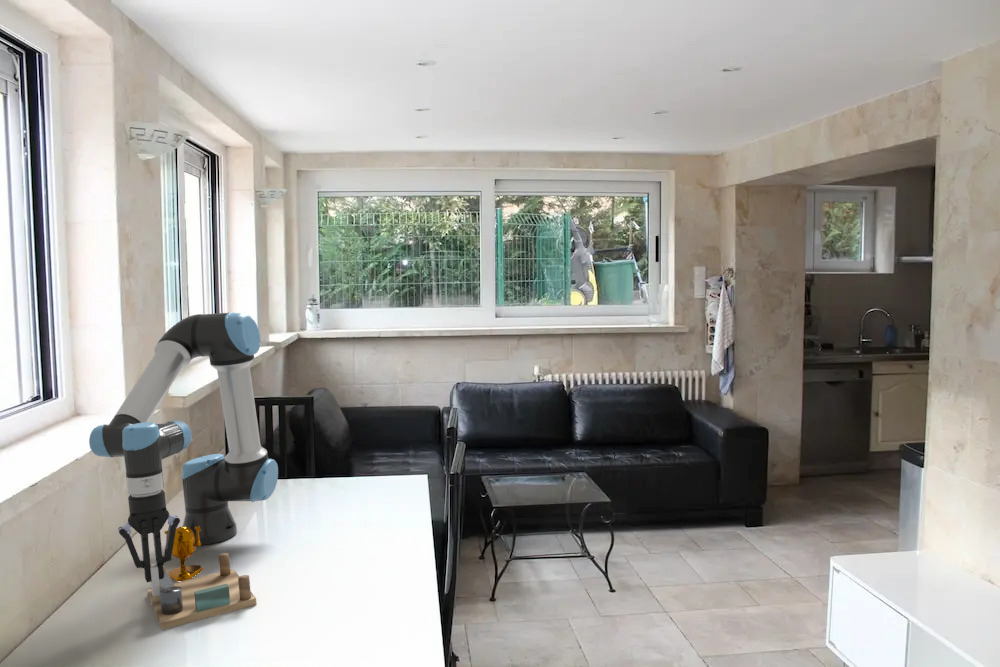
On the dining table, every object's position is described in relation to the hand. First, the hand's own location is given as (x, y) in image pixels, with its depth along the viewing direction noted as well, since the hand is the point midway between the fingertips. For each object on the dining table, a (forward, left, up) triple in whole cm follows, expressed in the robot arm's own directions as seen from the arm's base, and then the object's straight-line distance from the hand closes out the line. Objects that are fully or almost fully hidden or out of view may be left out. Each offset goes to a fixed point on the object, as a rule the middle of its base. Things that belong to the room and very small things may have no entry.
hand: (156, 593), depth 179 cm
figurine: (-19, +9, -4) cm, 21 cm away
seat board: (+1, +9, -4) cm, 10 cm away
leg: (+2, +2, -2) cm, 3 cm away
